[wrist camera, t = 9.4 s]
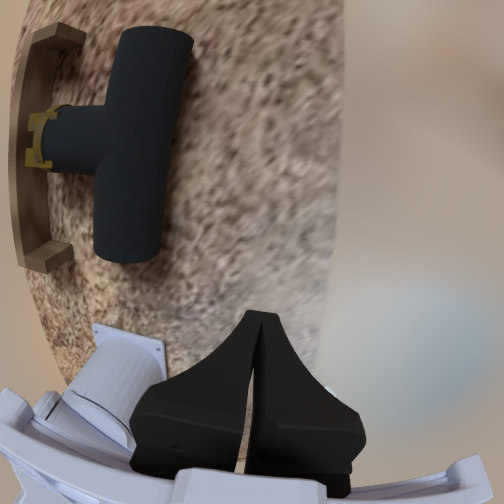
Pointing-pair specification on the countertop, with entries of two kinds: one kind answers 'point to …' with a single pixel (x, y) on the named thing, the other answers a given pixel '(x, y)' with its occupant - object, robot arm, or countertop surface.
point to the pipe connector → (122, 141)
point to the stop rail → (32, 178)
